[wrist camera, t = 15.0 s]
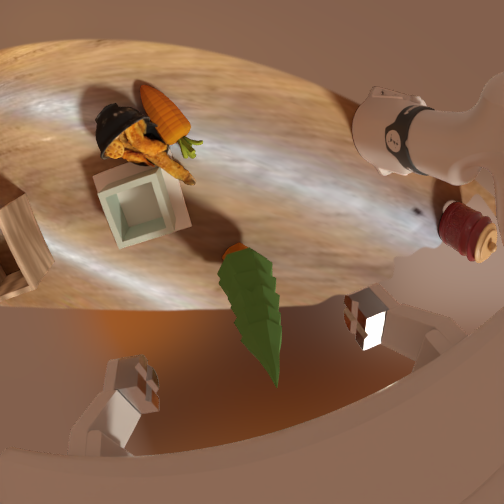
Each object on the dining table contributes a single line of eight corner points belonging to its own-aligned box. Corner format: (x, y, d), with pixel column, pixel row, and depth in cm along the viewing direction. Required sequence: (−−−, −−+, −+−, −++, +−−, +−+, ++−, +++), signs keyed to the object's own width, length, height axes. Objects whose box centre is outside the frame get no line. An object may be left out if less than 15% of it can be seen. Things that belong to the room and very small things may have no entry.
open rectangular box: (170, 148, 42) (166, 153, 36) (191, 224, 49) (192, 240, 42) (94, 175, 40) (80, 184, 34) (120, 246, 47) (112, 264, 41)
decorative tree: (206, 248, 51) (233, 383, 25) (251, 224, 51) (319, 341, 25) (230, 285, 56) (269, 415, 30) (271, 263, 56) (338, 382, 30)
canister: (460, 191, 60) (507, 215, 44) (465, 225, 66) (506, 251, 51) (434, 218, 61) (482, 247, 46) (441, 250, 68) (482, 281, 52)
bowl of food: (92, 101, 26) (177, 205, 33) (147, 81, 34) (218, 167, 40) (73, 142, 32) (144, 230, 39) (121, 116, 40) (183, 192, 46)
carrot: (133, 82, 31) (190, 159, 36) (159, 71, 34) (213, 143, 39) (124, 99, 35) (176, 170, 40) (148, 88, 38) (198, 155, 43)
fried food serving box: (25, 193, 37) (-2, 211, 29) (54, 261, 45) (35, 289, 36) (-22, 222, 36) (-47, 242, 27) (6, 280, 43) (-14, 306, 34)
